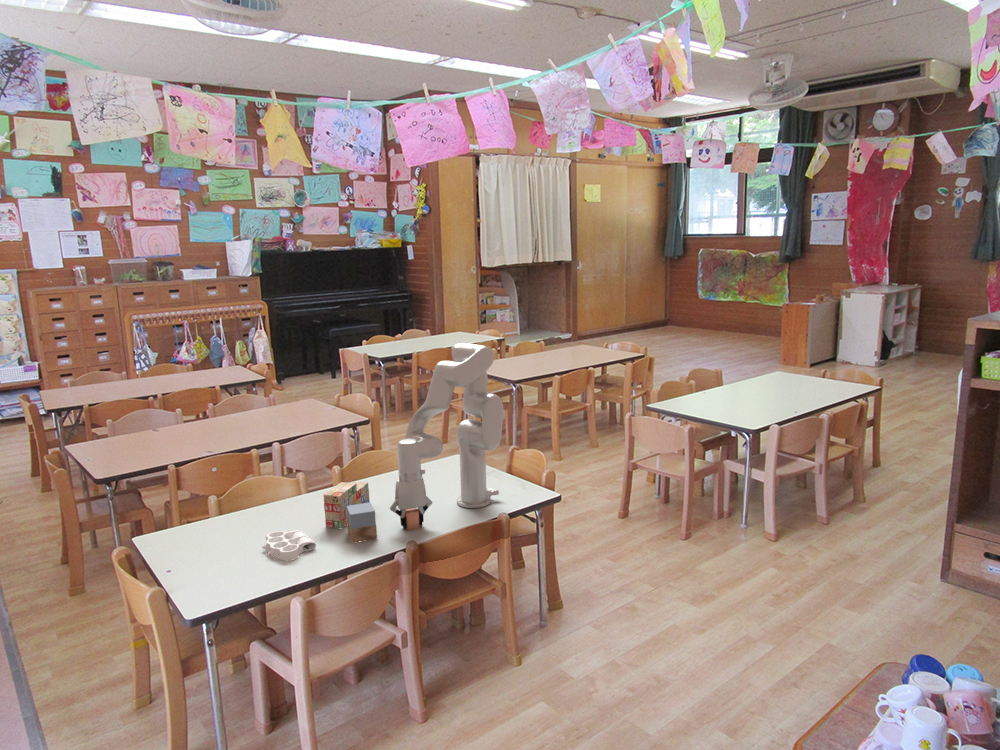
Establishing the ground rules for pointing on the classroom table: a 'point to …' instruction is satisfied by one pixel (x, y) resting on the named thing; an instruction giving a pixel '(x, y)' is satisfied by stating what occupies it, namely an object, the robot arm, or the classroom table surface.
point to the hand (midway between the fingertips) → (412, 525)
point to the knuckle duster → (287, 544)
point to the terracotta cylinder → (412, 519)
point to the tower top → (361, 515)
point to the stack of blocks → (343, 501)
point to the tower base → (362, 533)
